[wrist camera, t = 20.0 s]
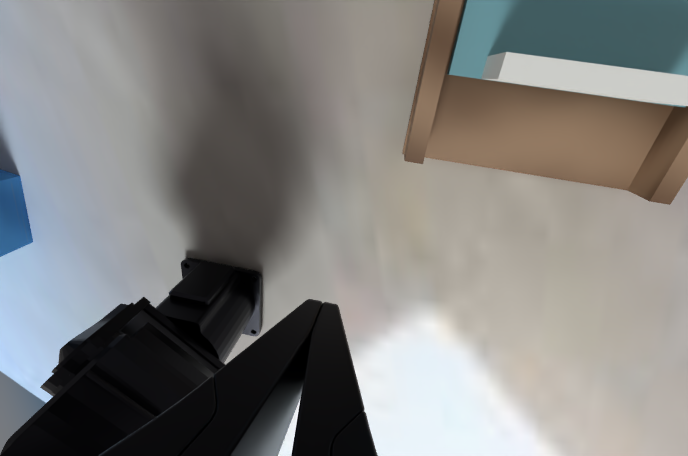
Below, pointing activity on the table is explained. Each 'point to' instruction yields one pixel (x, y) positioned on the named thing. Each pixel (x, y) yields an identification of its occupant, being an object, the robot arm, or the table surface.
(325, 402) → the robot arm
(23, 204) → the perfume bottle
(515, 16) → the tray
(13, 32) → the table surface
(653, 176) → the dock
